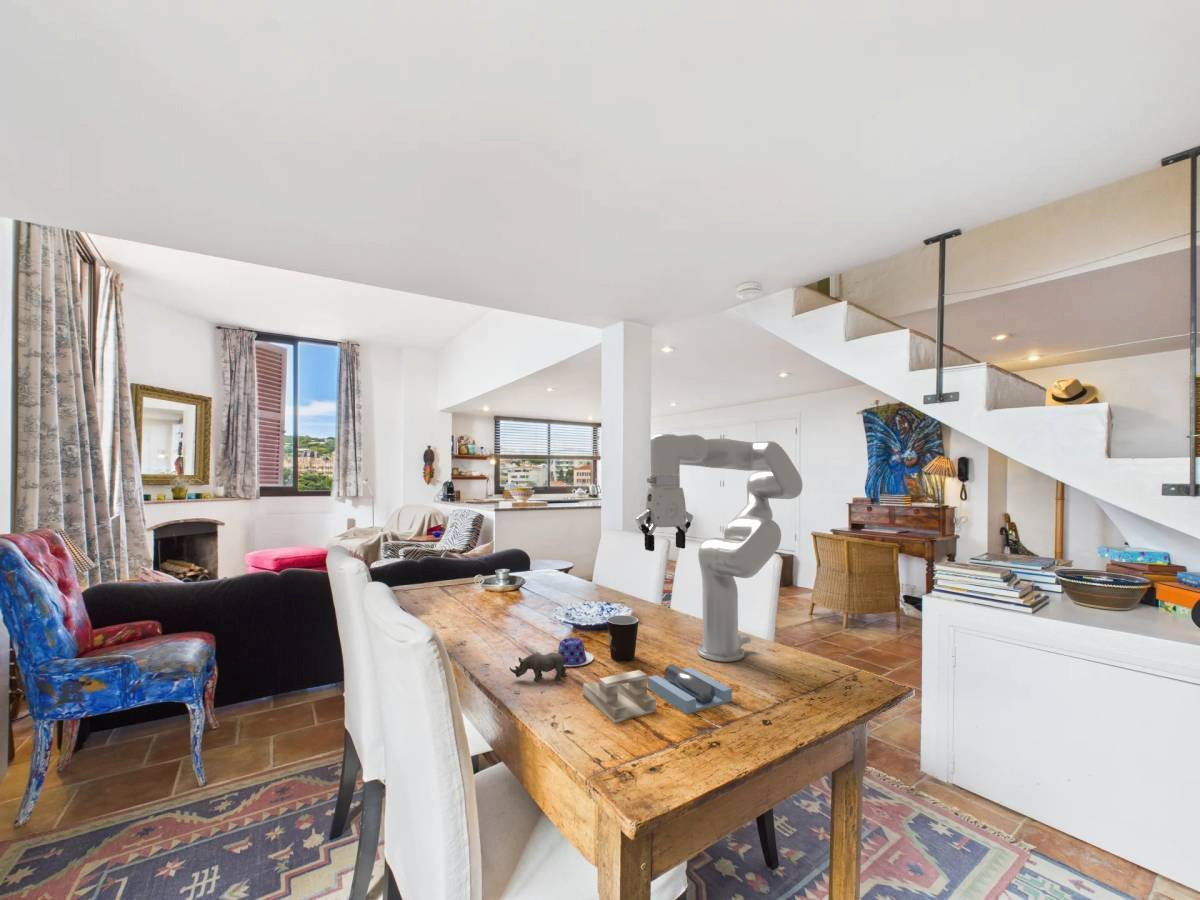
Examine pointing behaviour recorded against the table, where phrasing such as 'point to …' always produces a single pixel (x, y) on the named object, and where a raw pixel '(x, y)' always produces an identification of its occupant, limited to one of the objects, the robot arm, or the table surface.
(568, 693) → the table surface
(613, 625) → the coffee mug
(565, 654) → the pudding
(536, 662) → the rhino figurine
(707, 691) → the axle
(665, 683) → the cradle
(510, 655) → the table surface
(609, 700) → the bracket
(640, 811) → the table surface
